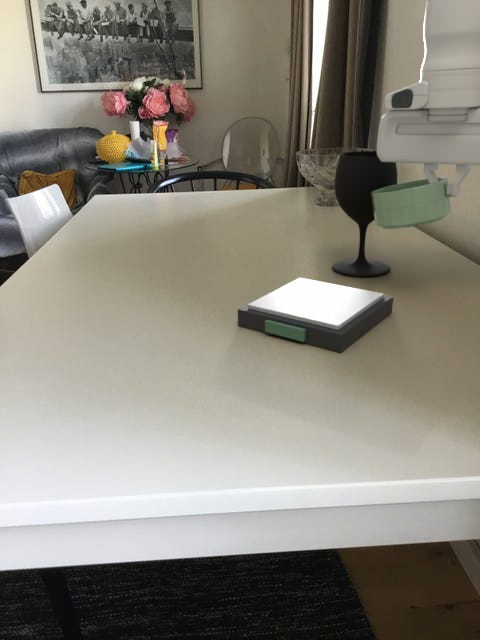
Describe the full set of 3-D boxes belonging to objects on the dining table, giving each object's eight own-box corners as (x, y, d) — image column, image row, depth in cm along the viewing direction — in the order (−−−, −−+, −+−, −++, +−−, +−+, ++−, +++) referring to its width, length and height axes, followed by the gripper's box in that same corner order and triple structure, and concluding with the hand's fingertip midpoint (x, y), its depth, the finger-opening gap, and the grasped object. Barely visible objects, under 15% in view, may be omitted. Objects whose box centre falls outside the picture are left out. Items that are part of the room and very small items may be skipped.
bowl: (461, 210, 87) (457, 173, 85) (436, 225, 79) (432, 185, 77) (393, 217, 94) (388, 184, 92) (364, 232, 86) (359, 196, 84)
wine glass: (360, 281, 95) (367, 159, 87) (319, 267, 103) (322, 154, 96) (403, 270, 100) (412, 153, 93) (361, 257, 108) (367, 149, 101)
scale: (392, 312, 82) (393, 292, 81) (338, 355, 70) (339, 331, 69) (297, 293, 91) (297, 274, 90) (235, 327, 79) (234, 306, 78)
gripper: (542, 89, 73) (526, 196, 79) (391, 94, 85) (387, 188, 90) (531, 91, 69) (516, 205, 74) (374, 96, 80) (370, 195, 86)
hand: (444, 195), depth 82 cm, fingers closed on bowl
